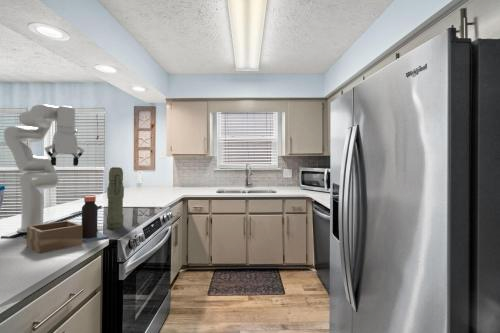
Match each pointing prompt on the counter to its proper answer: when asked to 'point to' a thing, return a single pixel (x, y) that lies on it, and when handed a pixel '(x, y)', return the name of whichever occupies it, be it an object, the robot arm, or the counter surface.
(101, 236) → the mat
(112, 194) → the thermos
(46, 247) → the crate
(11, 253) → the counter surface
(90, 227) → the vinegar
